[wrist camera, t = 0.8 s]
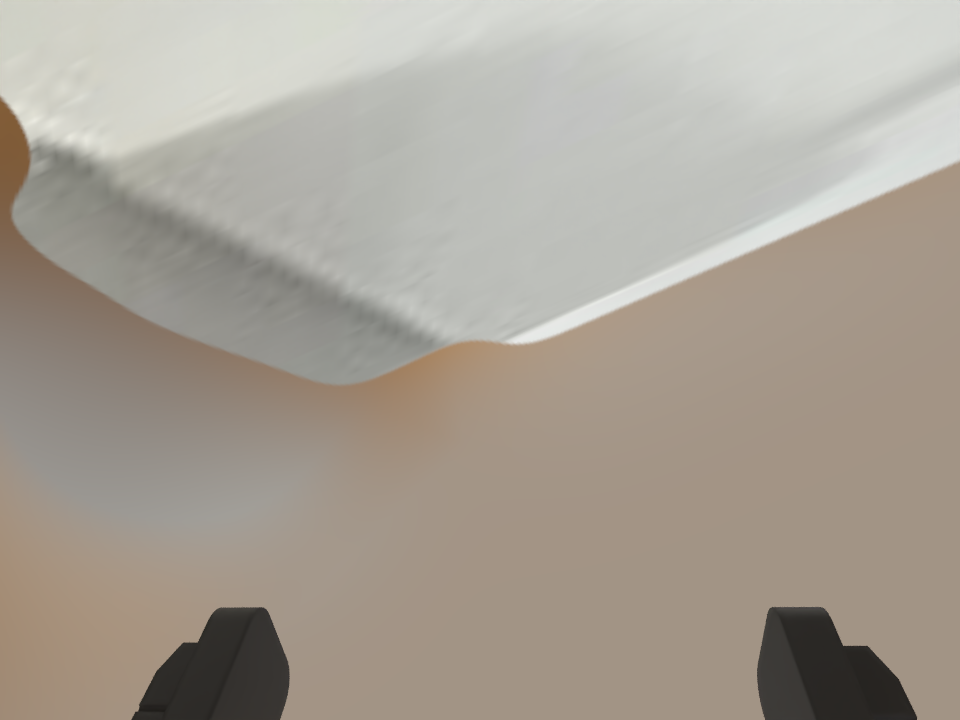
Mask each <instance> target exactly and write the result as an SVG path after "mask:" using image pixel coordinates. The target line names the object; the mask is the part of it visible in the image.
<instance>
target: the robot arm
mask: <svg viewBox="0 0 960 720" xmlns="http://www.w3.org/2000/svg"><path fill="white" fill-rule="evenodd" d="M757 678H758V679H757V680H758V690H759V696H760V702H761V706H762V710H763V714H764V717H765V720H917V716H916V714H915V712H914V710H913V708H912V706H911V704H910V702H909V700H908V698H907V696H906V694H905V692H904V689H903V687H902V685H901V683H900V681H899V679H898V678H897V677H896V676H895V675H894V674H893V673H892V672H891V670H889V668H888V667H887V666H886V665H885V664H884V663H883V662H882V661H881V660H880V659H879V658H878V657H877V656H876V655H875V653H874V652H873V651H872V650H871V649H870V648H869V647H868V646H843V645H842V643H841V640H840V638H839V636H838V633H837V631H836V629H835V626H834V624H833V622H832V619H831V617H830V616H829V614H828V612H827V611H826V610H825V609H824V608H821V607H772V608H770V609H769V611H768V614H767V619H766V625H765V630H764V635H763V641H762V646H761V651H760V656H759V661H758V668H757ZM288 688H289V665H288V661H287V658H286V656H285V654H284V651H283V648H282V646H281V643H280V641H279V638H278V635H277V633H276V630H275V628H274V625H273V623H272V620H271V618H270V615H269V613H268V611H267V610H266V609H265V608H262V607H261V608H260V607H259V608H219V609H217V610H216V611H214V613H213V614H212V615H211V617H210V619H209V620H208V622H207V624H206V627H205V629H204V631H203V633H202V635H201V637H200V639H199V641H198V643H183V644H182V645H181V646H180V647H179V648H178V649H177V650H176V651H175V652H174V653H173V654H172V655H171V656H170V657H169V659H168V660H167V661H166V662H165V663H164V664H163V665H162V666H161V667H160V668H159V669H158V670H157V672H156V673H155V675H154V677H153V679H152V681H151V683H150V685H149V687H148V689H147V691H146V693H145V695H144V697H143V699H142V701H141V702H140V704H139V706H140V707H139V711H138V712H135V714H134V716H133V718H132V720H280V718H281V715H282V712H283V709H284V706H285V702H286V699H287V695H288Z"/></svg>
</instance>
